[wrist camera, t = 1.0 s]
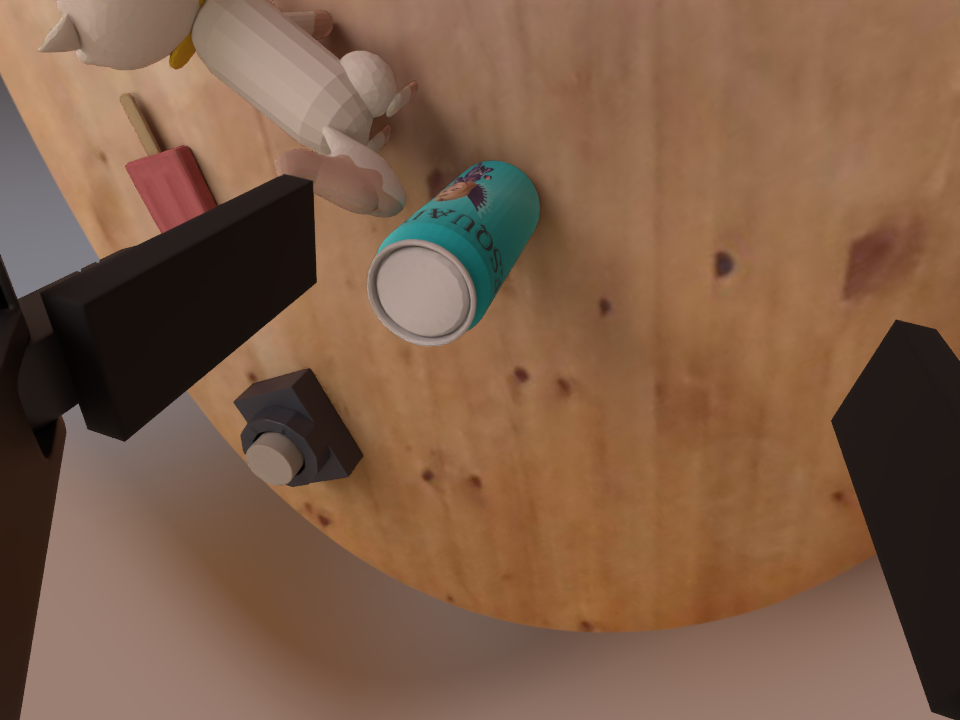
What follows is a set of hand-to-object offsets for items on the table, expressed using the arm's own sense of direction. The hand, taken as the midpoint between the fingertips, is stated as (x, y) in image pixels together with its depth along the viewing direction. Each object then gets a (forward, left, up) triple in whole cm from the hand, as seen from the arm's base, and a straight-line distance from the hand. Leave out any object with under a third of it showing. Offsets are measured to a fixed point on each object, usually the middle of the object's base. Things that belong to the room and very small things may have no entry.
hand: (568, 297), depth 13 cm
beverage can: (+7, -6, -25) cm, 26 cm away
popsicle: (+15, -30, -25) cm, 42 cm away
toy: (+2, -18, -25) cm, 30 cm away
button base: (+33, -18, -24) cm, 45 cm away
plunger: (+33, -18, -20) cm, 43 cm away
